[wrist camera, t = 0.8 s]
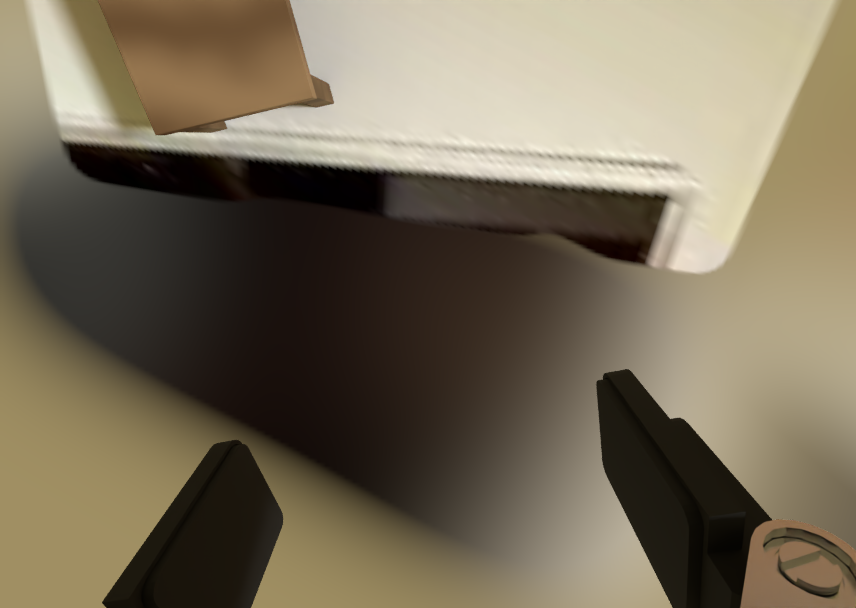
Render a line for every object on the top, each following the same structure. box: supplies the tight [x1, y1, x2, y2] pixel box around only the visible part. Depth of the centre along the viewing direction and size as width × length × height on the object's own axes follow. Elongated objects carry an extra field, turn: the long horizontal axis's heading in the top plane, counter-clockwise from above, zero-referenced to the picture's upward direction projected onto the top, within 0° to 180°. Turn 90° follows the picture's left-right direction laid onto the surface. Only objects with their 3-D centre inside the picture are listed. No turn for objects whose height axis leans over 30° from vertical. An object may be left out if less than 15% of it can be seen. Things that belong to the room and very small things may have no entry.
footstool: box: [98, 0, 334, 135], centre depth 27 cm, size 11×11×7 cm
